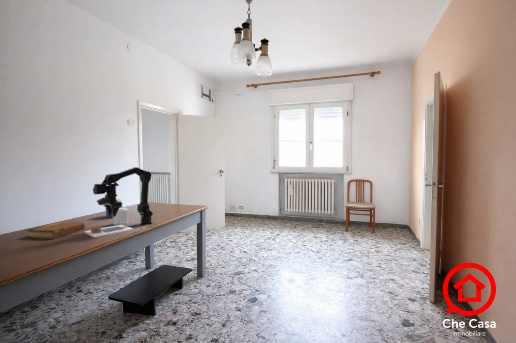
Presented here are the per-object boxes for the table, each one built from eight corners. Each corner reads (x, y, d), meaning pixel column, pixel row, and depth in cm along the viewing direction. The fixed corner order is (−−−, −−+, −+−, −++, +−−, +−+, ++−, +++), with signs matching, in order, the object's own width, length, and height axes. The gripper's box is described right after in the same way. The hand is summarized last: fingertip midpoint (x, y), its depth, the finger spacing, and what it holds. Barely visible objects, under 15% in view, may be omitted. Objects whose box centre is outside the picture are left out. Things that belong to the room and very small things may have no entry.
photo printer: (127, 222, 204) (127, 206, 204) (128, 223, 201) (128, 207, 200) (112, 224, 199) (112, 208, 198) (113, 225, 195) (112, 209, 195)
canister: (126, 216, 228) (126, 196, 227) (115, 219, 215) (114, 198, 215) (113, 216, 231) (113, 196, 230) (101, 219, 218) (101, 197, 217)
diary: (55, 240, 161) (54, 230, 160) (27, 239, 163) (27, 230, 163) (84, 230, 183) (84, 222, 183) (60, 229, 186) (59, 221, 186)
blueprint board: (121, 226, 194) (121, 220, 193) (133, 229, 182) (132, 224, 182) (84, 232, 175) (84, 226, 175) (93, 237, 164) (93, 231, 164)
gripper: (93, 193, 179) (93, 216, 180) (103, 195, 167) (104, 219, 168) (110, 191, 188) (111, 213, 188) (121, 193, 176) (122, 216, 176)
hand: (111, 215), depth 180 cm, fingers open, 8 cm apart
